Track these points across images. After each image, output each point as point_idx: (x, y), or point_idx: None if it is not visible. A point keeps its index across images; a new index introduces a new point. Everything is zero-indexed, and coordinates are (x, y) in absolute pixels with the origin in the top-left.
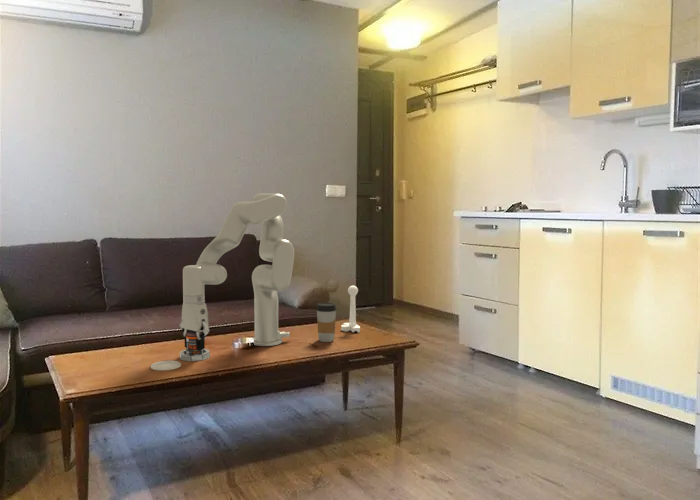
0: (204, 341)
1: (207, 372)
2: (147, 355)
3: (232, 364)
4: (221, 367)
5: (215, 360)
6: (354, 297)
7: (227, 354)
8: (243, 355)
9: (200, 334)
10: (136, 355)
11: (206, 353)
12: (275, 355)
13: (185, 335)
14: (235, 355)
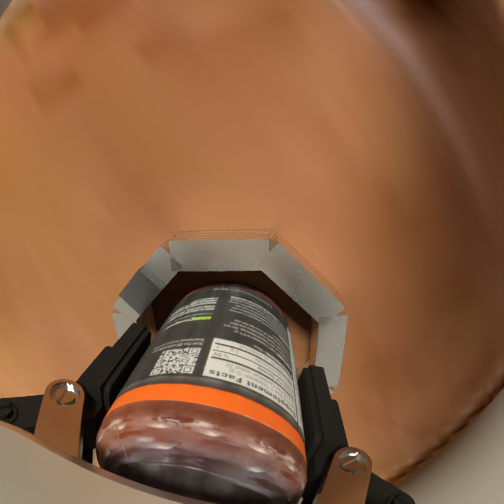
0: (334, 413)
1: (425, 455)
2: (20, 365)
3: (499, 341)
4: (464, 397)
5: (407, 333)
6: None
7: (415, 167)
8: (501, 158)
9: (300, 496)
10: (3, 371)
11: (342, 352)
12: None
13: (95, 449)
14: (469, 173)
